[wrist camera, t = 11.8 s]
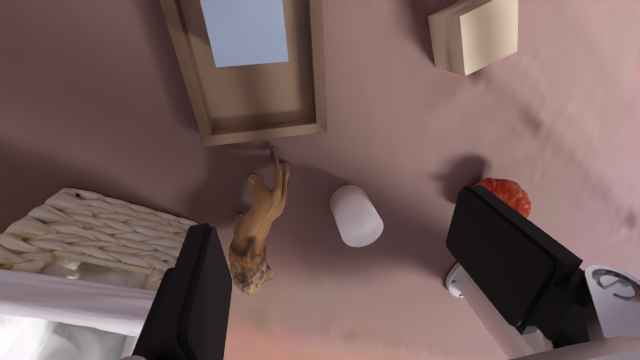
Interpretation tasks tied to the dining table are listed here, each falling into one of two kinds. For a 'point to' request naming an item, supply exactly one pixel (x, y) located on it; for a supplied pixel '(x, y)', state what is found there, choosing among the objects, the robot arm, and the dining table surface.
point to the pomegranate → (509, 194)
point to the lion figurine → (257, 230)
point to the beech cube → (473, 34)
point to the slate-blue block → (245, 31)
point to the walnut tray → (252, 78)
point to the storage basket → (82, 276)
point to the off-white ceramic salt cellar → (355, 216)
